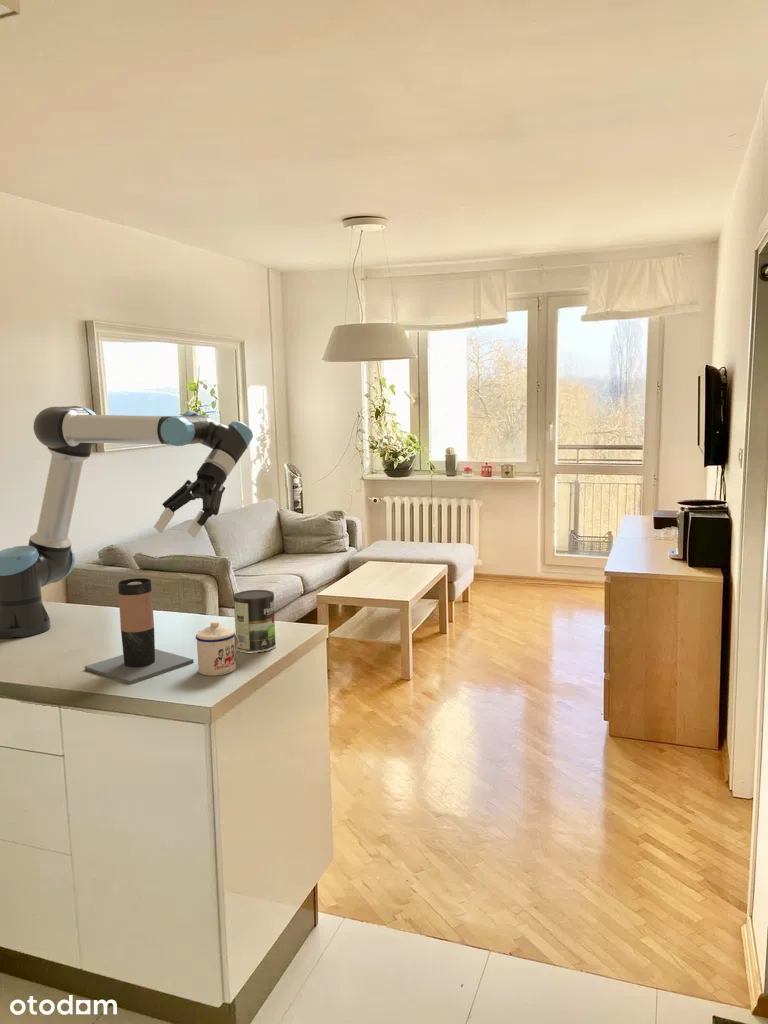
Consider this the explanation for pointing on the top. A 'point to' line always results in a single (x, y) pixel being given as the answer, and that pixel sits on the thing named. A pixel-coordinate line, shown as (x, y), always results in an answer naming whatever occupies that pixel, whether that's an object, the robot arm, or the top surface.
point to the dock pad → (134, 674)
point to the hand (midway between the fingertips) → (173, 532)
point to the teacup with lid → (216, 650)
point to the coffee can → (255, 620)
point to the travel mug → (137, 622)
